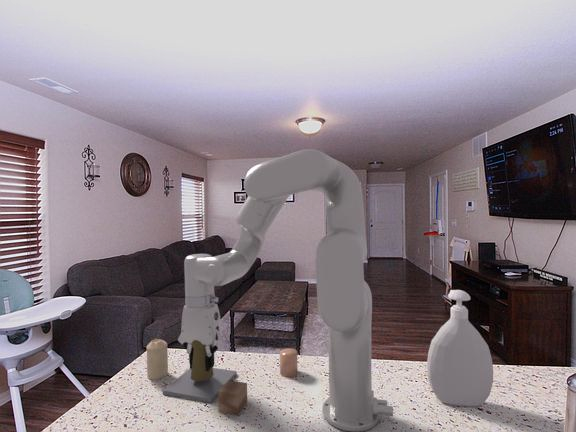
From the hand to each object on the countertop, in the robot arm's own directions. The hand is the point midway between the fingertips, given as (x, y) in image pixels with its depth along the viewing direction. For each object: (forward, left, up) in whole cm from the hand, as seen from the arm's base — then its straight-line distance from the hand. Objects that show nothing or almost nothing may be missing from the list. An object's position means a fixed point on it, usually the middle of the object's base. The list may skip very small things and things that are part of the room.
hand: (201, 367), depth 88 cm
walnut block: (-13, +7, -5) cm, 15 cm away
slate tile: (0, 0, -5) cm, 5 cm away
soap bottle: (-64, -10, -5) cm, 65 cm away
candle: (+15, -1, -5) cm, 16 cm away
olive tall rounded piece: (0, 0, -2) cm, 2 cm away
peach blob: (-21, -12, -5) cm, 24 cm away
